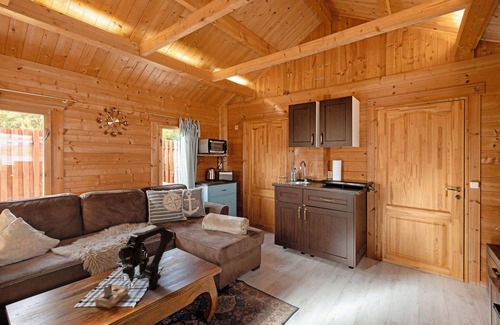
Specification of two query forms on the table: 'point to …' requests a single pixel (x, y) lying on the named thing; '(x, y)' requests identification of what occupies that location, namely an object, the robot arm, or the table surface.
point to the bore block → (117, 295)
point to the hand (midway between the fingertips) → (136, 277)
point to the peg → (107, 291)
